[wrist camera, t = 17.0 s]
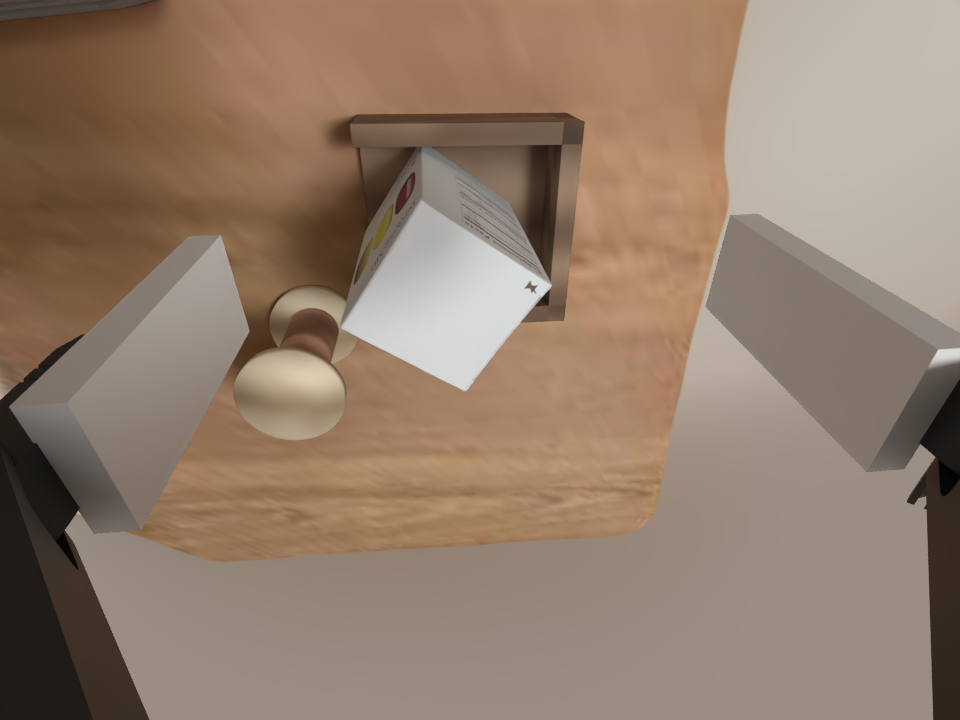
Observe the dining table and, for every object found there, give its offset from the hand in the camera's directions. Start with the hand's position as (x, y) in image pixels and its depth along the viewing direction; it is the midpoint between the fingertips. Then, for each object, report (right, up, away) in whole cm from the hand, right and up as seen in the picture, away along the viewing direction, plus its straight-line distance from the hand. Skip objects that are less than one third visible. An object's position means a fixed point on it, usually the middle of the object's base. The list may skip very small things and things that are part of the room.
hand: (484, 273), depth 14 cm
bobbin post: (-16, +1, +35) cm, 38 cm away
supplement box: (-4, +10, +30) cm, 32 cm away
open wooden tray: (-2, +10, +31) cm, 33 cm away
